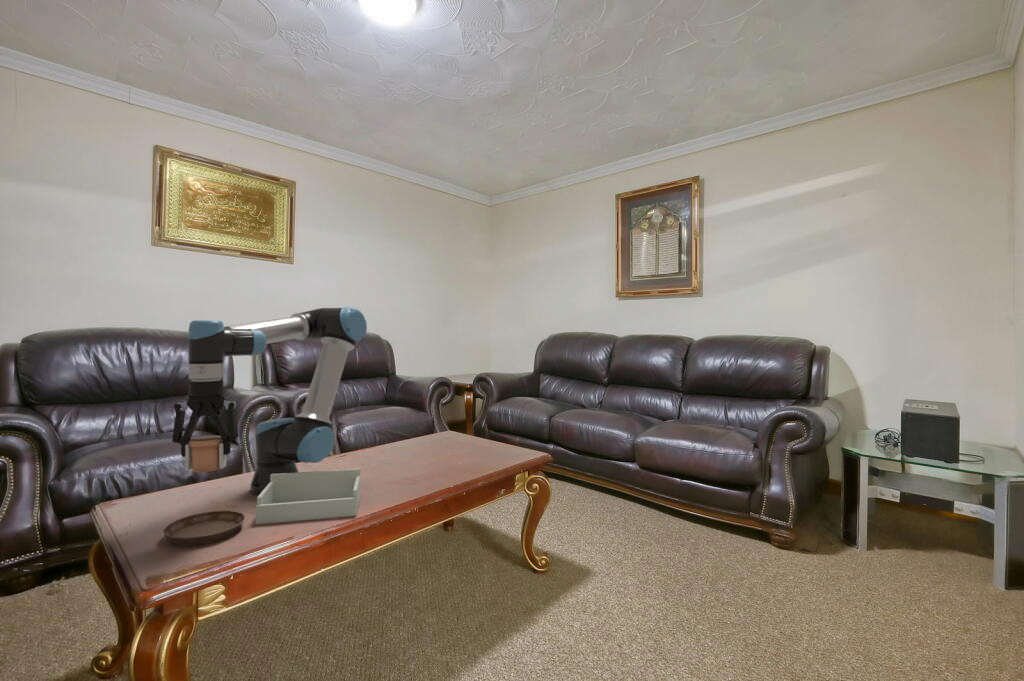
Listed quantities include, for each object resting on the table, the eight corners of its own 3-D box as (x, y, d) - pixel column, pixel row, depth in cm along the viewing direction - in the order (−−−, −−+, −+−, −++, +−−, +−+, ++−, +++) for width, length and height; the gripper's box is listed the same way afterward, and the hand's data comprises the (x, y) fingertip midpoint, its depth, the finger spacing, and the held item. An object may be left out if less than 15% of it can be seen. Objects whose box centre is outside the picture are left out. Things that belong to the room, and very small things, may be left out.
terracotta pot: (196, 466, 121) (196, 436, 121) (226, 464, 123) (226, 434, 123) (184, 474, 114) (184, 442, 114) (216, 472, 116) (216, 440, 116)
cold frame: (271, 503, 140) (271, 474, 140) (360, 496, 147) (360, 468, 146) (255, 524, 125) (255, 491, 124) (356, 515, 131) (356, 484, 131)
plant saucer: (236, 515, 131) (236, 504, 131) (252, 535, 118) (252, 523, 118) (158, 533, 119) (158, 521, 119) (167, 557, 106) (167, 544, 106)
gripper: (154, 381, 112) (154, 475, 113) (244, 380, 117) (244, 469, 118) (168, 379, 120) (168, 466, 120) (253, 377, 125) (252, 461, 125)
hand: (206, 467), depth 119 cm, fingers closed on terracotta pot, 7 cm apart
